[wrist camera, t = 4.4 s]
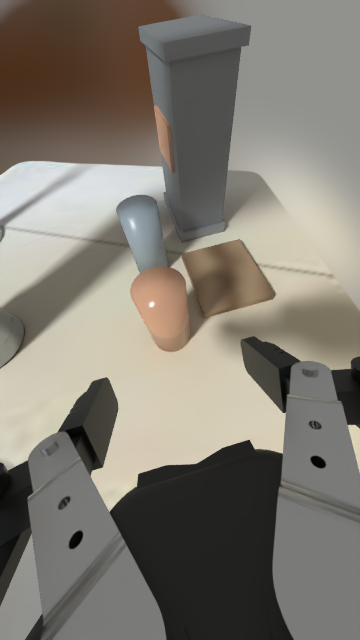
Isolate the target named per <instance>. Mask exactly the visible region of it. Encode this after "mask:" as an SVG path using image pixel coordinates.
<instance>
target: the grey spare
mask: <svg viewBox="0 0 360 640" xmlns="http://www.w3.org/2000/svg"><path fill="white" fill-rule="evenodd" d="M116 212H117V215H118V217H119V220H120V223H121V225H122V228H123V230H124V233H125V236H126V238H127V241H128V243H129V246H130V249H131V251H132V254H133V256H134V259H135V262H136V264H137V267H138V269H139V272H140V273H142V272H143V271H145V270H147V269H149V268H153V267H158V266H165V267H168V260H167V255H166V250H165V245H164V239H163V234H162V229H161V223H160V218H159V213H158V207H157V202H156V200H155V199H154V198H152V197H150V196H147V195H136V196H132V197H129V198H126V199H125V200H123V201H122V202H120V203H119V205H118V206H117V209H116Z"/></svg>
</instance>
